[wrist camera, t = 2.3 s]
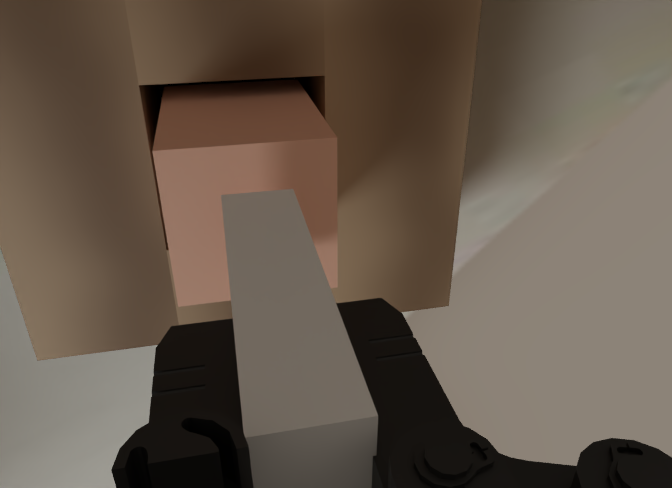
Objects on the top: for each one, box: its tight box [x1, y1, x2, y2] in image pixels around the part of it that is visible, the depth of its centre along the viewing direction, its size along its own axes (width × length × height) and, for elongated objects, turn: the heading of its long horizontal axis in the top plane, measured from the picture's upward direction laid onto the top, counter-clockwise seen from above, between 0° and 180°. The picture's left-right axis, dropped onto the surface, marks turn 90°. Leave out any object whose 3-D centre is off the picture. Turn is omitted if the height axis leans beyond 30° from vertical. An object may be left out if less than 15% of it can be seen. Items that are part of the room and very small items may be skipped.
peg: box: [152, 79, 338, 307], centre depth 16 cm, size 4×4×6 cm
